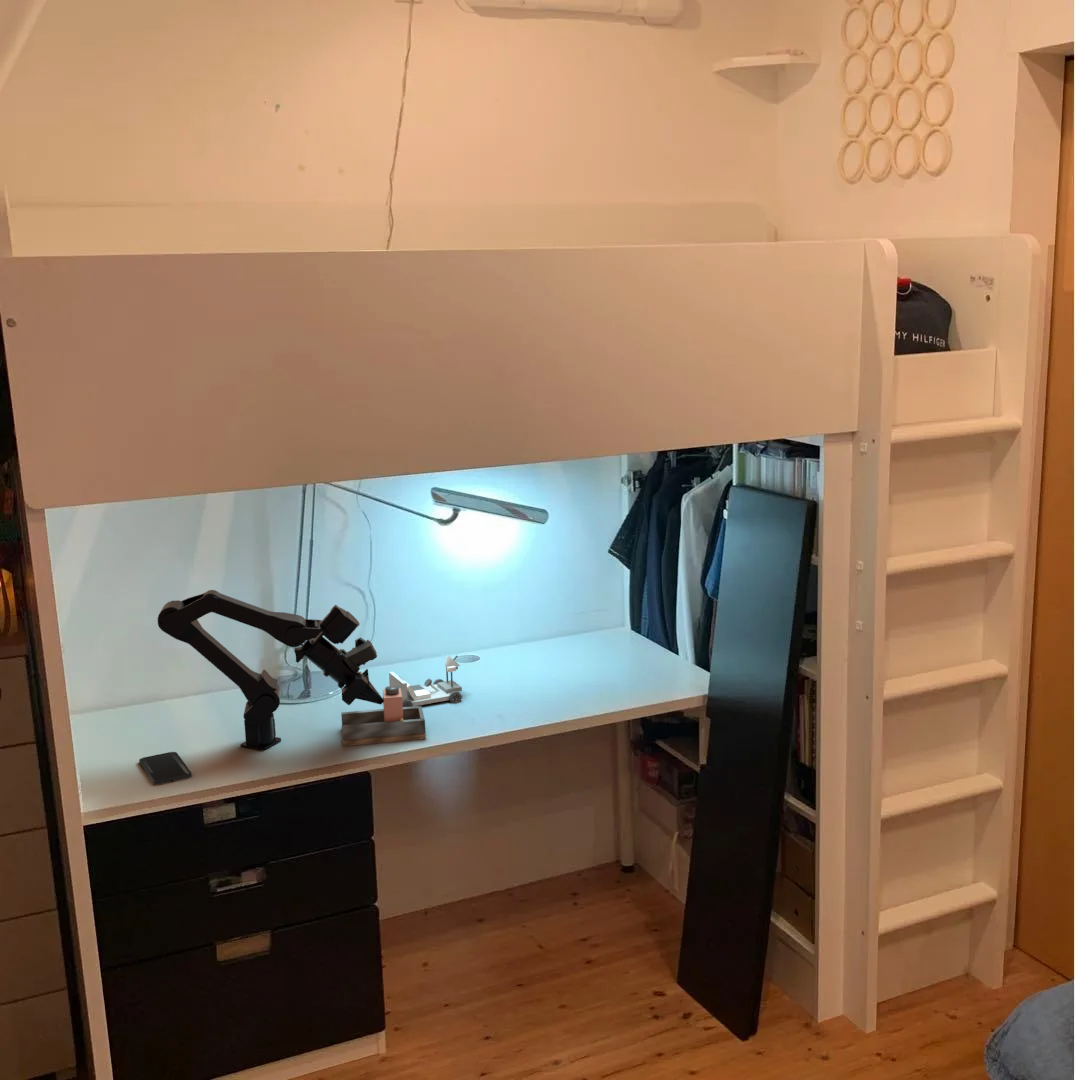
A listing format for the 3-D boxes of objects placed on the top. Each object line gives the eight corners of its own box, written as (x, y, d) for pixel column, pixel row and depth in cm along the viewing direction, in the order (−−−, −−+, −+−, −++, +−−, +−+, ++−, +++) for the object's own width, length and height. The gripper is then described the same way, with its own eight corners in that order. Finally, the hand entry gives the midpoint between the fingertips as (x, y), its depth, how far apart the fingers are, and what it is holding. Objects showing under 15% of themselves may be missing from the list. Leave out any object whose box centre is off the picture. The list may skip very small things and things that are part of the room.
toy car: (452, 649, 286) (470, 661, 276) (454, 687, 288) (472, 701, 278) (383, 660, 279) (399, 673, 268) (385, 699, 281) (401, 713, 270)
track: (342, 745, 250) (341, 726, 249) (342, 728, 261) (341, 709, 260) (425, 738, 253) (425, 719, 252) (421, 721, 264) (421, 703, 263)
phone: (175, 750, 248) (192, 774, 235) (176, 755, 248) (193, 779, 235) (137, 758, 244) (152, 782, 231) (138, 763, 244) (153, 787, 231)
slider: (385, 732, 254) (383, 692, 252) (384, 723, 260) (382, 684, 258) (403, 731, 255) (401, 691, 253) (402, 721, 260) (400, 683, 259)
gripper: (354, 643, 242) (409, 688, 246) (352, 620, 260) (404, 663, 264) (318, 682, 242) (374, 727, 246) (319, 656, 260) (371, 699, 264)
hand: (382, 702), depth 255 cm, fingers closed, pressing on slider
